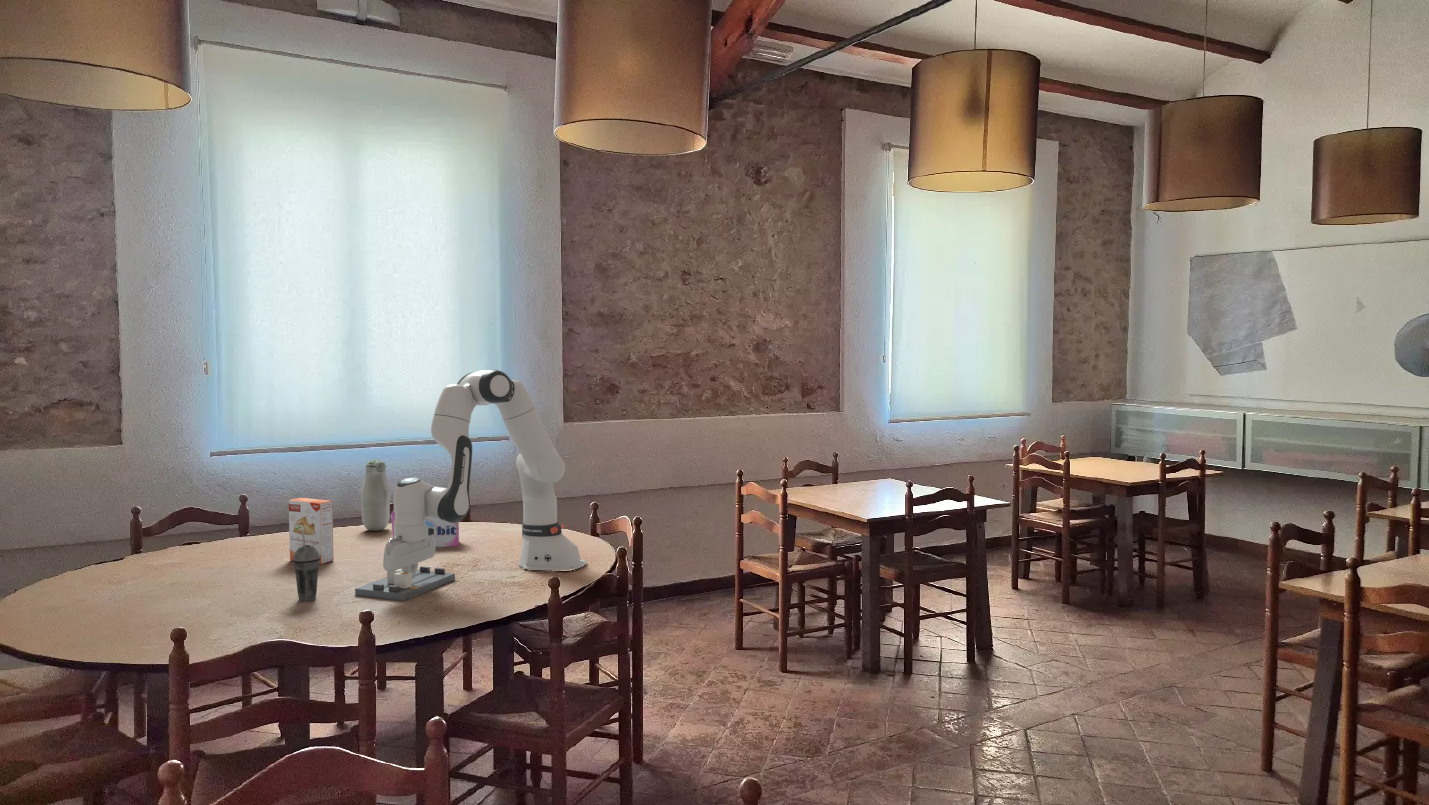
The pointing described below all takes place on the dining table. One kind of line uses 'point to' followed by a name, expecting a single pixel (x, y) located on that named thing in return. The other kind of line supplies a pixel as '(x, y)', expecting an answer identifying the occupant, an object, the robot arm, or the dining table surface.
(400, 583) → the fader
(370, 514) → the glass bottle
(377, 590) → the console
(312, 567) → the beverage cup
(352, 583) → the dining table surface
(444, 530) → the gum box
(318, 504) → the cracker box
